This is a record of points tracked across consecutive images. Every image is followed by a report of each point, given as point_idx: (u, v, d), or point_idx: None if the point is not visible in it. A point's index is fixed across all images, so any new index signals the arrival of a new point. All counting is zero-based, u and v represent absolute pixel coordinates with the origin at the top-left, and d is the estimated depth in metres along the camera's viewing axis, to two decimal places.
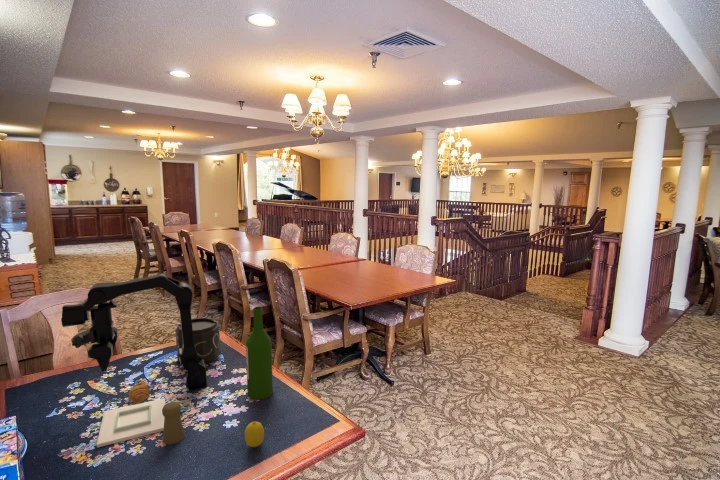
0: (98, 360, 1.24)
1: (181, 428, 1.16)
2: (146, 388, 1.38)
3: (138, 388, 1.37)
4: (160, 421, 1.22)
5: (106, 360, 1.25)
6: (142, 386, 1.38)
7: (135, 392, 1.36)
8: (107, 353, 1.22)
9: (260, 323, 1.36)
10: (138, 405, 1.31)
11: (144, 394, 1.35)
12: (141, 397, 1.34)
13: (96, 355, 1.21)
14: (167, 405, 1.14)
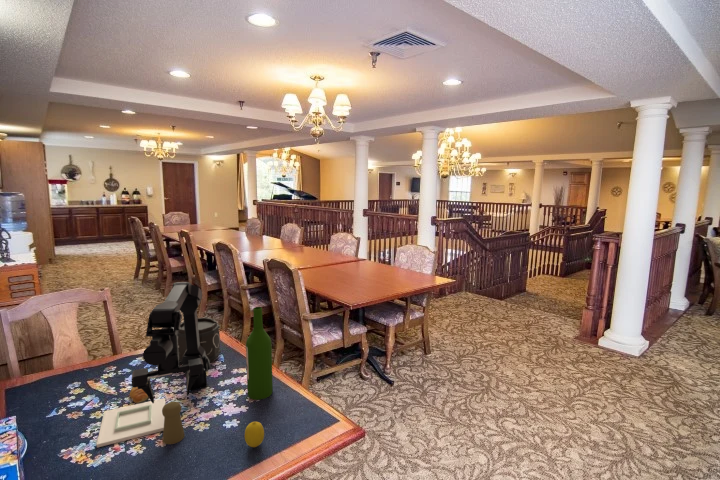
0: None
1: (181, 428, 1.16)
2: None
3: None
4: (160, 421, 1.22)
5: None
6: None
7: (136, 392, 1.36)
8: (132, 384, 1.07)
9: (260, 323, 1.36)
10: (138, 405, 1.31)
11: (145, 394, 1.36)
12: (142, 397, 1.34)
13: None
14: (167, 405, 1.14)
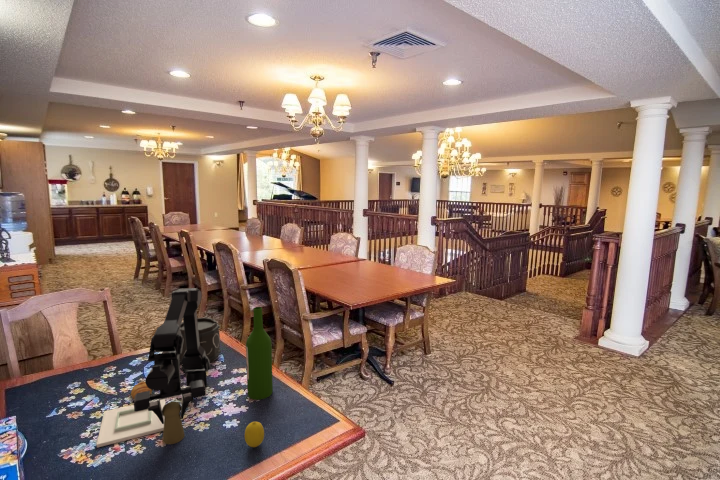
0: None
1: (181, 428, 1.16)
2: None
3: (140, 387, 1.38)
4: (160, 421, 1.22)
5: None
6: (144, 385, 1.39)
7: (138, 391, 1.36)
8: (134, 408, 1.08)
9: (260, 323, 1.36)
10: None
11: None
12: None
13: None
14: (167, 405, 1.14)
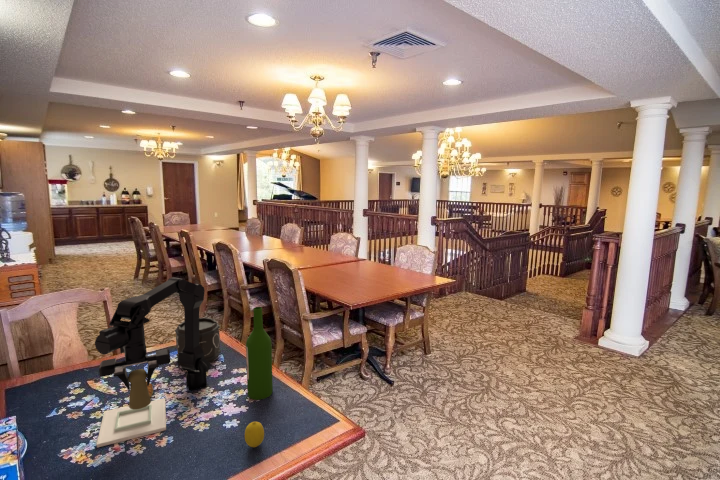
0: None
1: (147, 394, 1.21)
2: (150, 387, 1.39)
3: None
4: (160, 421, 1.22)
5: None
6: None
7: None
8: None
9: (260, 323, 1.36)
10: None
11: None
12: None
13: None
14: (133, 372, 1.19)
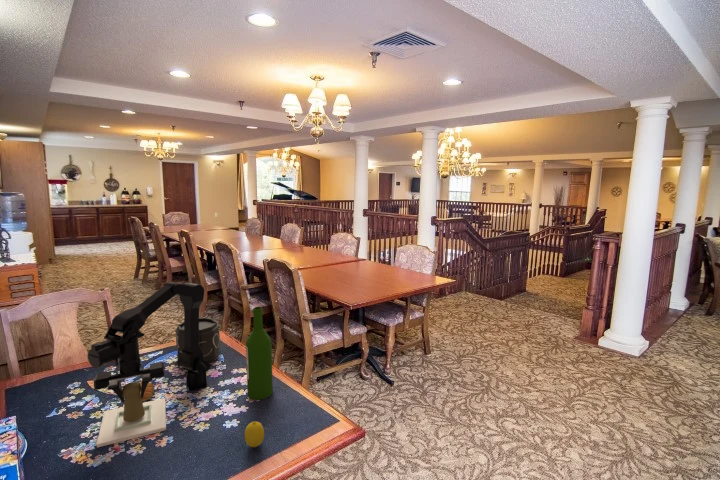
0: None
1: (141, 407, 1.23)
2: (150, 386, 1.40)
3: None
4: (160, 421, 1.22)
5: None
6: None
7: None
8: (94, 387, 1.15)
9: (260, 323, 1.36)
10: None
11: (149, 392, 1.37)
12: (147, 395, 1.35)
13: None
14: (127, 385, 1.21)
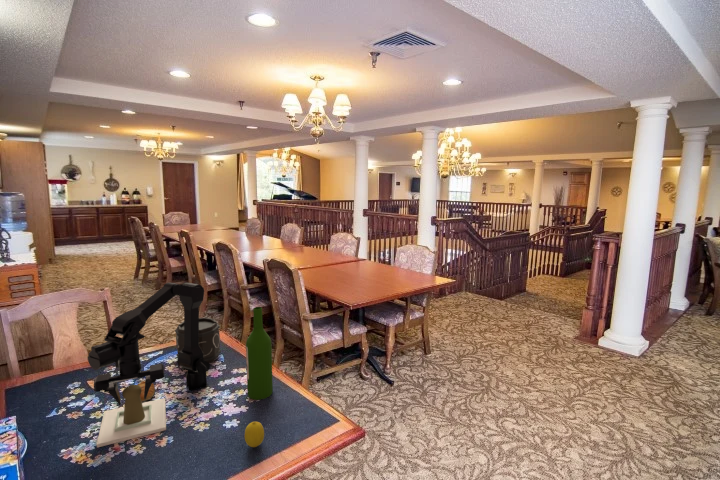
0: None
1: (141, 410, 1.23)
2: (151, 386, 1.40)
3: (143, 386, 1.38)
4: (160, 421, 1.22)
5: None
6: None
7: (141, 390, 1.37)
8: (94, 389, 1.15)
9: (260, 323, 1.36)
10: None
11: (150, 392, 1.37)
12: (148, 395, 1.36)
13: None
14: (127, 388, 1.21)
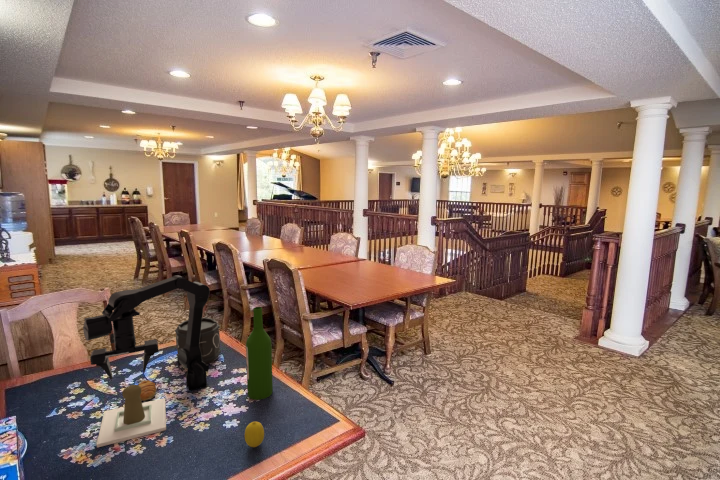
0: None
1: (141, 410, 1.23)
2: (153, 385, 1.40)
3: (145, 386, 1.39)
4: (160, 421, 1.22)
5: None
6: (149, 384, 1.40)
7: (142, 390, 1.37)
8: None
9: (260, 323, 1.36)
10: None
11: (152, 391, 1.37)
12: (149, 394, 1.36)
13: None
14: (127, 388, 1.21)
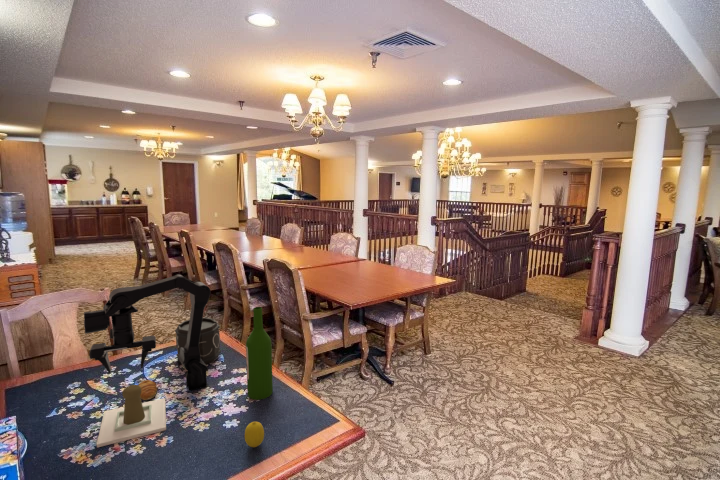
0: None
1: (141, 410, 1.23)
2: (153, 385, 1.40)
3: (146, 385, 1.39)
4: (160, 421, 1.22)
5: None
6: (149, 383, 1.40)
7: (143, 389, 1.37)
8: None
9: (260, 323, 1.36)
10: None
11: (153, 390, 1.38)
12: (150, 393, 1.36)
13: None
14: (127, 388, 1.21)
